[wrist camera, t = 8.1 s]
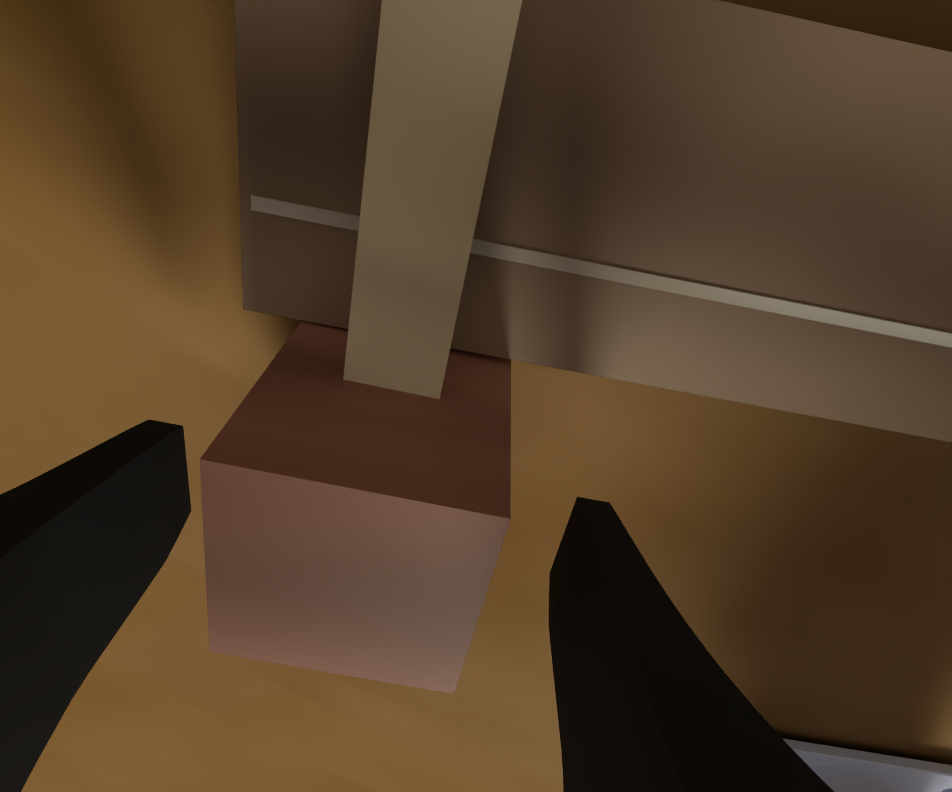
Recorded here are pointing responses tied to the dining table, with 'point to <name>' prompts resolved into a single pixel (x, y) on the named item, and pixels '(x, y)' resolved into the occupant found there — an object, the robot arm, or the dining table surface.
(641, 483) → the dining table surface
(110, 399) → the dining table surface
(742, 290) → the board
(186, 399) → the dining table surface
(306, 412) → the block with upright post
